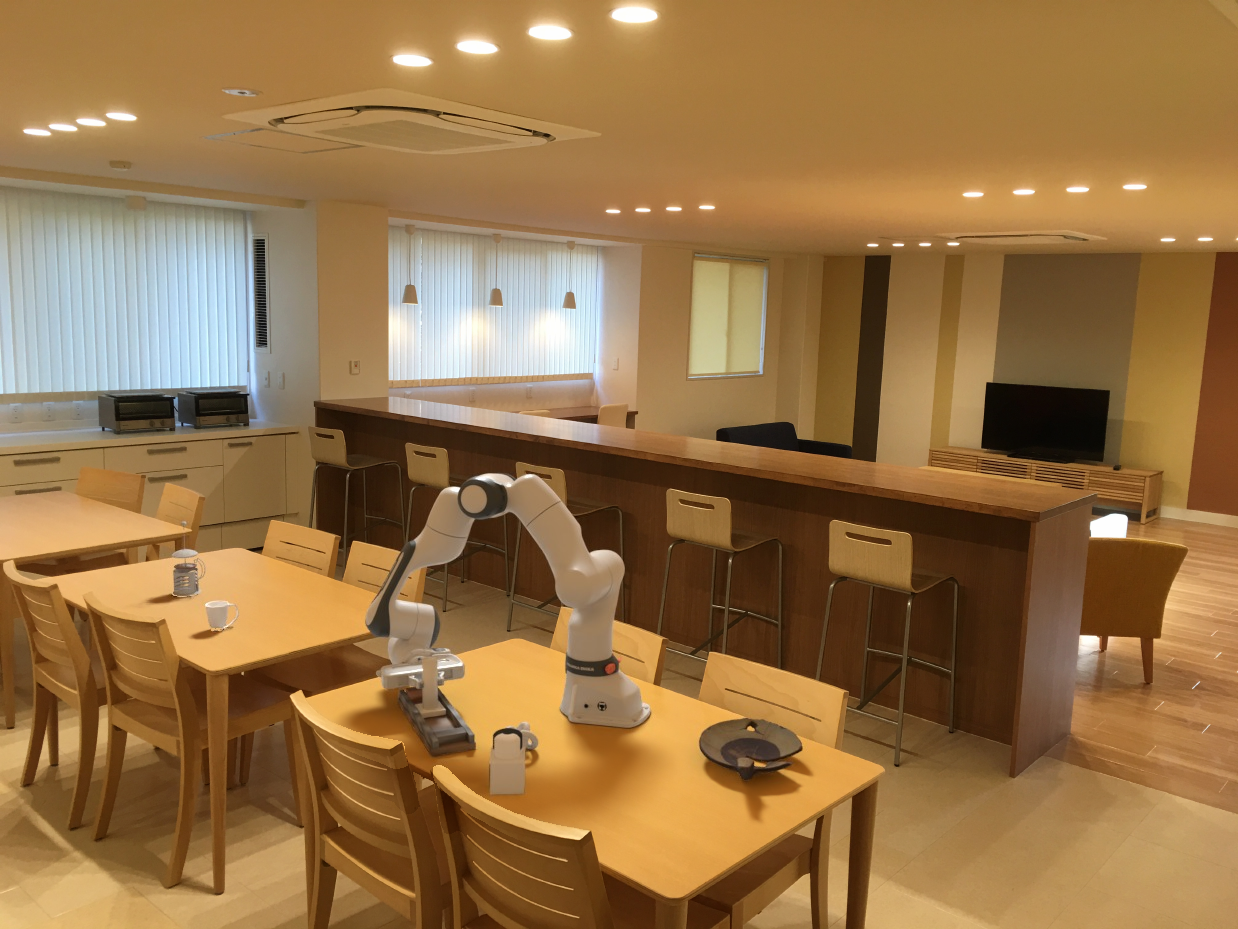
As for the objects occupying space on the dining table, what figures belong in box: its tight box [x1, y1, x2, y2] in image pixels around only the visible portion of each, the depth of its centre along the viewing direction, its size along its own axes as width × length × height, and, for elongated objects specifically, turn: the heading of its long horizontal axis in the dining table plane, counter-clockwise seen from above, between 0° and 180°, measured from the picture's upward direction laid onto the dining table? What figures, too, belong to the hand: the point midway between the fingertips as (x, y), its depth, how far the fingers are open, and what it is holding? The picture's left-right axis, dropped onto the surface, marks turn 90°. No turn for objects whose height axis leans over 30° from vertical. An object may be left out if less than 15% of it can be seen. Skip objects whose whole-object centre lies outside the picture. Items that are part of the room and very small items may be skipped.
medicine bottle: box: [488, 727, 526, 796], centre depth 199 cm, size 7×7×12 cm
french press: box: [171, 521, 206, 596], centre depth 327 cm, size 10×12×25 cm
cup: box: [204, 600, 240, 631], centre depth 293 cm, size 7×10×8 cm
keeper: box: [415, 657, 446, 718], centre depth 231 cm, size 6×6×13 cm
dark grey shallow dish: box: [698, 717, 803, 782], centre depth 211 cm, size 22×30×8 cm
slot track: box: [397, 686, 477, 757], centre depth 228 cm, size 32×10×4 cm, turn 26°
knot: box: [505, 721, 539, 751], centre depth 216 cm, size 8×8×6 cm
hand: (430, 684), depth 230 cm, fingers closed on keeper, 4 cm apart
